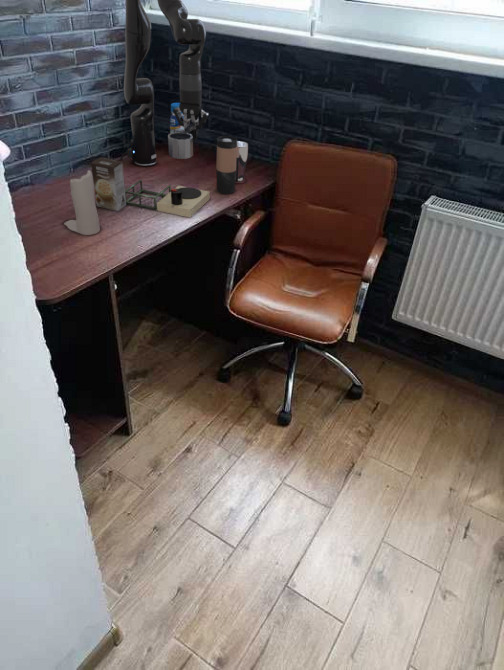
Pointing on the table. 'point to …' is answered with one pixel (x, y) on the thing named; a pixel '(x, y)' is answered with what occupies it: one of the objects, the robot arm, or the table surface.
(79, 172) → the table surface
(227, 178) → the travel mug
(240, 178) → the beer glass
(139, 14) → the robot arm
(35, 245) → the table surface
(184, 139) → the saucepan
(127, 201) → the dish rack
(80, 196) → the candle
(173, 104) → the beverage bottle
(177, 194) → the dial
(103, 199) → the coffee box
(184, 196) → the burner
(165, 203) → the plate
